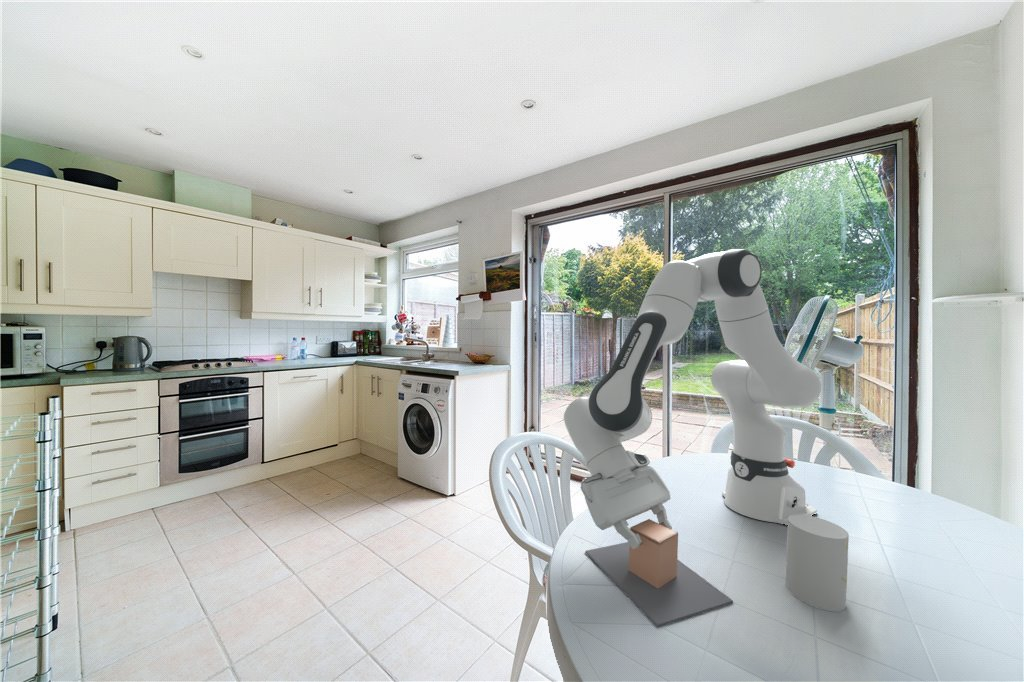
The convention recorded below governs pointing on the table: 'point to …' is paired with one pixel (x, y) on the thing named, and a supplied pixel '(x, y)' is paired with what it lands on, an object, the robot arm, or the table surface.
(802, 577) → the white oval cylinder
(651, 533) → the light orange rectangular block
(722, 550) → the table surface
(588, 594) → the table surface
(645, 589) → the mat
